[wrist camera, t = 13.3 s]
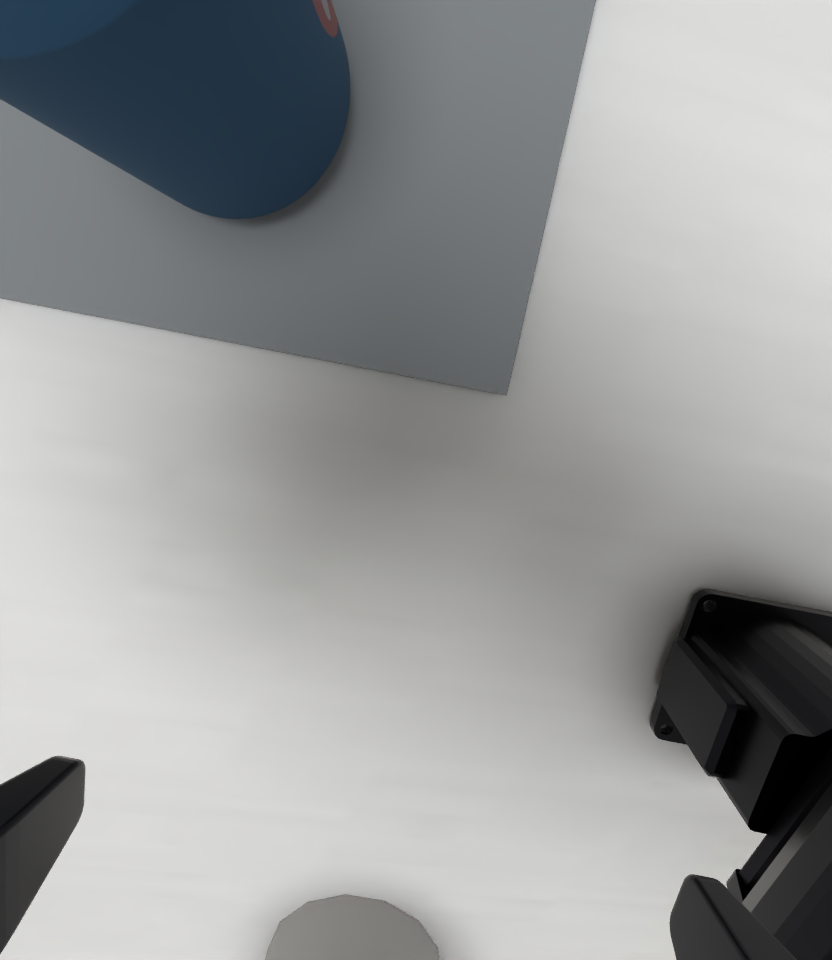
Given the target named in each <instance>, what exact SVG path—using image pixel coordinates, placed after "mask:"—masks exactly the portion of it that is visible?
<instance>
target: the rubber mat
mask: <svg viewBox="0 0 832 960" xmlns="http://www.w3.org/2000/svg"><path fill="white" fill-rule="evenodd" d="M331 1H332V4H333V7H334V10H335V14H336V17H337V20H338V23H339V27H340V30H341V33H342V36H343V40H344V43H345V47H346V52H347V57H348V63H349V70H350V105H349V112H348V118H347V122H346V127H345V130H344V134H343V137H342V140H341V142H340V145H339V147H338V150H337V152H336V154H335V156H334V158H333V160H332V162H331V164H330V165H329V167H328V168H327V170H326V171H325V173H324V174H323V175H322V177H321V178H320V179H319V180H318V182H317V183H316V184H315V185H314V186H313V187H312V188H311V189H310V190H309V191H308V192H307V193H306V194H304V195H303V196H302V197H301V198H299V199H298V200H297V201H295V202H294V203H292V204H290V205H289V206H287V207H285V208H283V209H281V210H279V211H276V212H274V213H271V214H268V215H264V216H260V217H255V218H249V219H226V218H219V217H214V216H210V215H206V214H203V213H200V212H197V211H195V210H192V209H190V208H188V207H186V206H184V205H182V204H181V203H179V202H177V201H175V200H174V199H172V198H170V197H168V196H167V195H165V194H163V193H161V192H160V191H158V190H156V189H155V188H153V187H151V186H149V185H148V184H146V183H144V182H142V181H141V180H139V179H137V178H136V177H134V176H132V175H130V174H129V173H127V172H125V171H123V170H122V169H120V168H118V167H117V166H115V165H113V164H111V163H110V162H108V161H106V160H104V159H103V158H101V157H99V156H98V155H96V154H94V153H92V152H91V151H89V150H87V149H85V148H84V147H82V146H80V145H79V144H77V143H75V142H73V141H72V140H70V139H68V138H66V137H65V136H63V135H61V134H60V133H58V132H56V131H54V130H53V129H51V128H49V127H47V126H46V125H44V124H42V123H41V122H39V121H37V120H35V119H34V118H32V117H30V116H28V115H27V114H25V113H23V112H22V111H20V110H18V109H16V108H15V107H13V106H11V105H9V104H8V103H6V102H4V101H3V100H1V99H0V298H2V299H7V300H13V301H18V302H23V303H28V304H33V305H39V306H44V307H49V308H54V309H60V310H65V311H70V312H75V313H80V314H86V315H91V316H96V317H101V318H106V319H112V320H117V321H122V322H127V323H132V324H138V325H143V326H148V327H153V328H158V329H164V330H169V331H174V332H179V333H184V334H190V335H195V336H200V337H205V338H210V339H216V340H221V341H226V342H231V343H236V344H242V345H247V346H252V347H257V348H262V349H268V350H273V351H278V352H283V353H288V354H294V355H299V356H304V357H309V358H315V359H320V360H325V361H330V362H335V363H341V364H346V365H351V366H356V367H361V368H367V369H372V370H377V371H382V372H387V373H393V374H398V375H403V376H408V377H413V378H419V379H424V380H429V381H434V382H439V383H445V384H450V385H455V386H460V387H465V388H471V389H476V390H481V391H486V392H491V393H497V394H502V395H507V391H508V387H509V383H510V378H511V374H512V369H513V365H514V360H515V356H516V352H517V347H518V343H519V338H520V334H521V329H522V325H523V321H524V316H525V312H526V307H527V303H528V298H529V294H530V290H531V285H532V281H533V276H534V272H535V268H536V263H537V259H538V254H539V250H540V245H541V241H542V237H543V232H544V228H545V223H546V219H547V214H548V210H549V206H550V201H551V197H552V192H553V188H554V183H555V179H556V175H557V170H558V166H559V161H560V157H561V152H562V148H563V144H564V139H565V135H566V130H567V126H568V121H569V117H570V113H571V108H572V104H573V99H574V95H575V90H576V86H577V82H578V77H579V73H580V68H581V64H582V60H583V55H584V51H585V46H586V42H587V37H588V33H589V29H590V24H591V20H592V15H593V11H594V6H595V2H596V0H331Z"/></svg>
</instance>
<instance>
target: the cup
mask: <svg viewBox="0 0 832 960" xmlns="http://www.w3.org/2000/svg"><path fill="white" fill-rule="evenodd" d="M265 960H439V956H438V947H437V946H436V945H435V943H434V942H433V940H432V939H431V938H430V936H429V935H428V933H427V932H426V930H425V929H424V928H423V926H422V925H421V923H420V922H419V920H417V919H415V918H413V917H412V916H410V915H408V914H407V913H405V912H403V911H401V910H400V909H398V908H396V907H395V906H393V905H391V904H389V903H388V902H386V901H382V900H376V899H370V898H364V897H358V896H352V895H346V894H345V895H340V896H335V897H330V898H325V899H320V900H315V901H310V902H307V903H306V904H304V905H303V906H301V907H300V908H299V909H297V910H296V911H294V912H293V913H292V914H290V915H289V916H287V917H286V918H285V919H283V920H282V921H280V923H279V925H278V928H277V930H276V932H275V934H274V937H273V939H272V941H271V943H270V946H269V948H268V951H267V954H266V958H265Z"/></svg>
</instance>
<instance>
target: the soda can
mask: <svg viewBox="0 0 832 960" xmlns="http://www.w3.org/2000/svg"><path fill="white" fill-rule="evenodd" d="M0 99H1V100H3V101H4V102H6V103H8V104H9V105H11V106H13V107H15V108H16V109H18V110H20V111H22V112H23V113H25V114H27V115H28V116H30V117H32V118H34V119H35V120H37V121H39V122H41V123H42V124H44V125H46V126H47V127H49V128H51V129H53V130H54V131H56V132H58V133H60V134H61V135H63V136H65V137H66V138H68V139H70V140H72V141H73V142H75V143H77V144H79V145H80V146H82V147H84V148H85V149H87V150H89V151H91V152H92V153H94V154H96V155H98V156H99V157H101V158H103V159H104V160H106V161H108V162H110V163H111V164H113V165H115V166H117V167H118V168H120V169H122V170H123V171H125V172H127V173H129V174H130V175H132V176H134V177H136V178H137V179H139V180H141V181H142V182H144V183H146V184H148V185H149V186H151V187H153V188H155V189H156V190H158V191H160V192H161V193H163V194H165V195H167V196H168V197H170V198H172V199H174V200H175V201H177V202H179V203H181V204H182V205H184V206H186V207H188V208H190V209H192V210H195V211H197V212H200V213H203V214H206V215H210V216H214V217H219V218H226V219H249V218H255V217H260V216H264V215H268V214H271V213H274V212H276V211H279V210H281V209H283V208H285V207H287V206H289V205H290V204H292V203H294V202H295V201H297V200H298V199H299V198H301V197H302V196H303V195H304V194H306V193H307V192H308V191H309V190H310V189H311V188H312V187H313V186H314V185H315V184H316V183H317V182H318V180H319V179H320V178H321V177H322V175H323V174H324V173H325V171H326V170H327V168H328V167H329V165H330V164H331V162H332V160H333V158H334V156H335V154H336V152H337V150H338V147H339V145H340V142H341V140H342V137H343V134H344V130H345V127H346V122H347V118H348V112H349V105H350V70H349V63H348V57H347V52H346V47H345V43H344V40H343V36H342V33H341V30H340V27H339V23H338V20H337V17H336V14H335V10H334V7H333V4H332V1H331V0H0Z"/></svg>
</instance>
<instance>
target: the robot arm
mask: <svg viewBox="0 0 832 960" xmlns="http://www.w3.org/2000/svg"><path fill="white" fill-rule="evenodd" d="M707 600H711V604H710V605H709V606H707V607H703V604H704V603H705V602H706V601H707ZM656 695H657V697H658V699H657V702H656V705H655V708H654V711H653V714H652V717H651V720H650V726H651V729H652V730H653V732H654V734H655V735H656V736H657V737H658V738H659V739H662V740H666V741H671V742H676V743H682V744H687V745H688V746H689V748H690V749H691V751H692V753H693V754H694V756H695V757H696V759H697V760H698V762H699V764H700V765H701V767H702V768H703V770H704V771H705V773H706V774H707V775H708V776H711V777H716V778H717V779H718V781H719V782H720V784H721V785H722V787H723V789H724V790H725V792H726V793H727V795H728V796H729V798H730V799H731V801H732V802H733V804H734V805H735V807H736V808H737V810H738V812H739V813H740V815H741V816H742V818H743V819H744V821H745V822H746V824H747V825H748V827H749V828H750V830H752V831H755V832H760V833H765V834H767V835H766V836H765V837H764V839H763V840H762V842H761V843H760V844H759V846H758V847H757V848H756V850H755V851H754V852H753V854H752V855H751V857H750V858H749V859H748V861H747V862H746V863H745V865H744V866H743V868H742V869H741V870H740V869H736V870H735V871H734V872H733V874H732V875H731V877H730V878H729V879H728V881H727V888H728V889H727V888H726V887H725V886H724V885H723V884H722V883H721V882H719V881H718V880H716V879H714V878H710V877H704V876H699V875H694V874H691V875H688V876H687V877H686V878H685V879H684V881H683V884H682V886H681V889H680V891H679V894H678V897H677V899H676V902H675V904H674V907H673V909H672V912H671V916H670V933H671V938H672V942H673V947H674V951H675V955H676V959H677V960H832V613H830V612H824V611H819V610H814V609H809V608H803V607H798V606H793V605H788V604H782V603H777V602H772V601H767V600H761V599H756V598H751V597H746V596H741V595H735V594H730V593H725V592H720V591H714V590H709V589H703V590H700V591H698V592H697V593H696V594H694V596H693V598H692V600H691V603H690V606H689V609H688V611H687V614H686V617H685V620H684V623H683V626H682V629H681V632H680V635H679V638H678V639H677V640H676V641H674V643H673V646H672V649H671V652H670V655H669V658H668V661H667V664H666V667H665V670H664V673H663V675H662V678H661V681H660V684H659V687H658V690H657V694H656ZM664 724H668V725H667V727H665V728H661V726H662V725H664ZM84 790H85V764H84V762H83V761H81V760H79V759H74V758H69V757H63V756H54V757H51V758H49V759H47V760H45V761H43V762H41V763H40V764H38V765H36V766H34V767H32V768H30V769H28V770H27V771H25V772H23V773H21V774H19V775H17V776H15V777H13V778H12V779H10V780H8V781H6V782H4V783H2V784H0V954H1V952H2V951H3V949H4V948H5V946H6V944H7V943H8V941H9V940H10V938H11V936H12V935H13V933H14V931H15V930H16V928H17V926H18V925H19V923H20V921H21V920H22V918H23V916H24V914H25V913H26V911H27V909H28V908H29V906H30V904H31V902H32V901H33V899H34V897H35V896H36V894H37V892H38V890H39V889H40V887H41V885H42V884H43V882H44V880H45V878H46V877H47V875H48V873H49V871H50V870H51V868H52V866H53V865H54V863H55V861H56V859H57V858H58V856H59V854H60V853H61V851H62V849H63V847H64V846H65V844H66V842H67V841H68V839H69V837H70V835H71V834H72V832H73V830H74V828H75V827H76V825H77V823H78V821H79V819H80V817H81V814H82V811H83V806H84Z"/></svg>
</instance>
